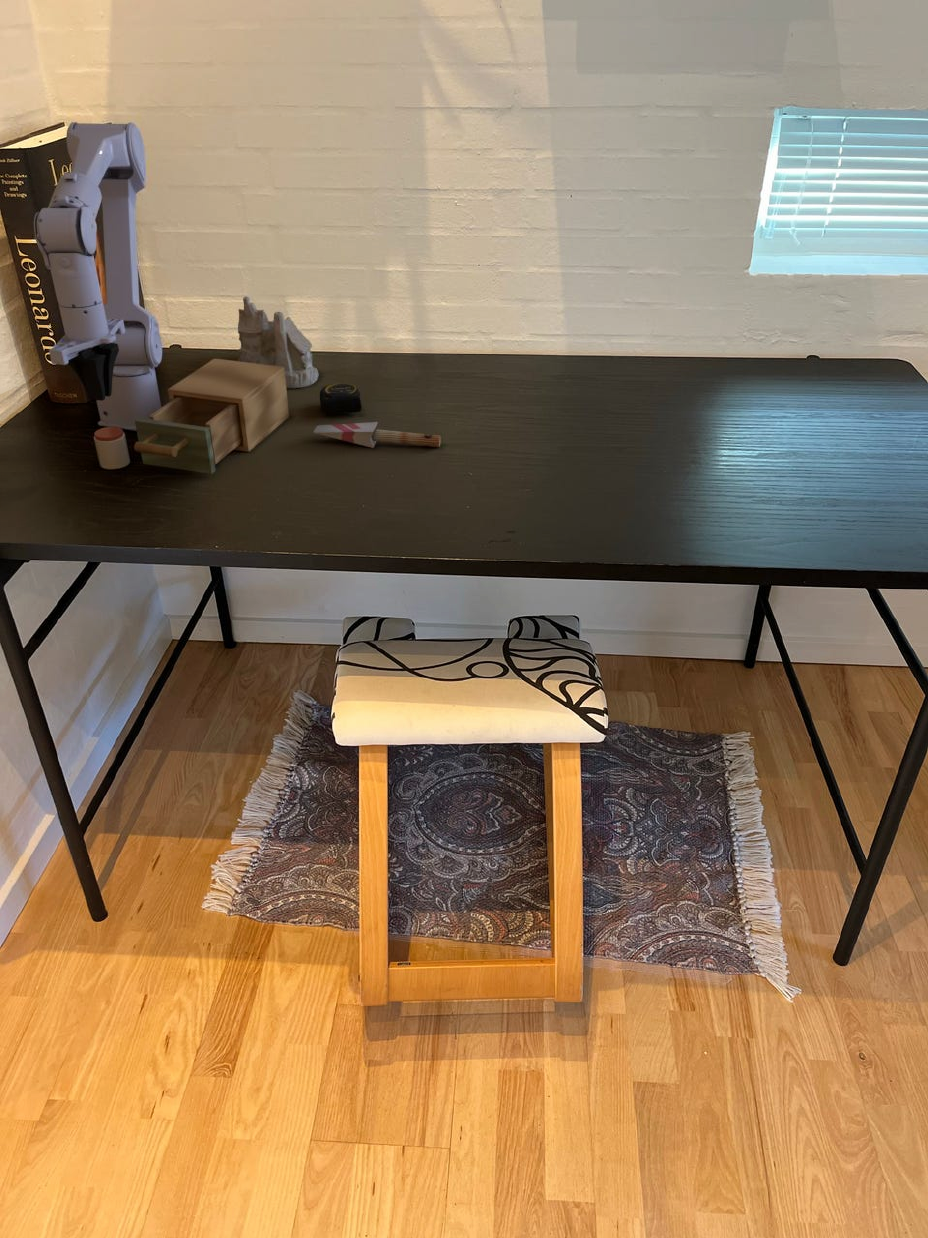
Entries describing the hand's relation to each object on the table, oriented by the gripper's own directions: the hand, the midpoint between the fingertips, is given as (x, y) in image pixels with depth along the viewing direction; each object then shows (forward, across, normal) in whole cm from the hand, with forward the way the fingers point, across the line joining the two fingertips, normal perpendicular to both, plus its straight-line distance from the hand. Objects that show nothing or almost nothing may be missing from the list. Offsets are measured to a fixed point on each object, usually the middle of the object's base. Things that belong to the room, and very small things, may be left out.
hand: (100, 397), depth 137 cm
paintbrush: (+11, +19, -35) cm, 41 cm away
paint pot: (+10, 0, 0) cm, 10 cm away
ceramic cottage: (+11, +43, -7) cm, 45 cm away
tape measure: (+11, +29, -25) cm, 40 cm away
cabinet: (+10, +17, -11) cm, 23 cm away
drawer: (+10, +4, -11) cm, 15 cm away
